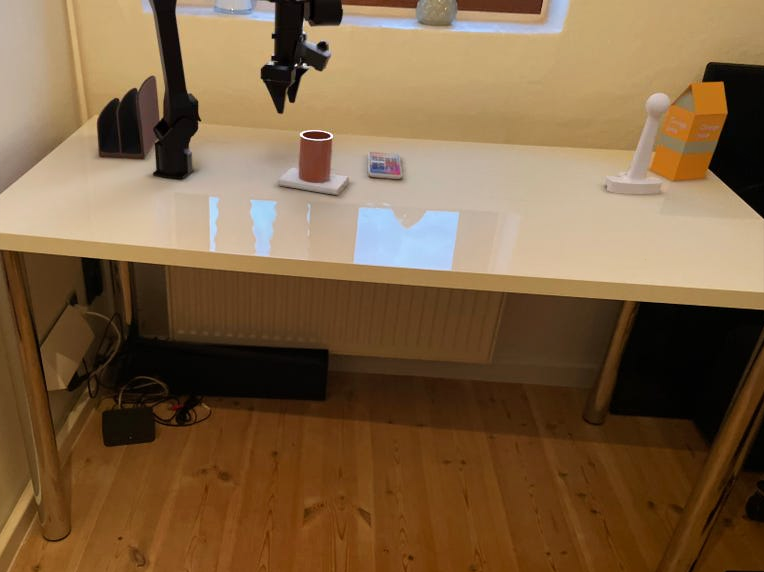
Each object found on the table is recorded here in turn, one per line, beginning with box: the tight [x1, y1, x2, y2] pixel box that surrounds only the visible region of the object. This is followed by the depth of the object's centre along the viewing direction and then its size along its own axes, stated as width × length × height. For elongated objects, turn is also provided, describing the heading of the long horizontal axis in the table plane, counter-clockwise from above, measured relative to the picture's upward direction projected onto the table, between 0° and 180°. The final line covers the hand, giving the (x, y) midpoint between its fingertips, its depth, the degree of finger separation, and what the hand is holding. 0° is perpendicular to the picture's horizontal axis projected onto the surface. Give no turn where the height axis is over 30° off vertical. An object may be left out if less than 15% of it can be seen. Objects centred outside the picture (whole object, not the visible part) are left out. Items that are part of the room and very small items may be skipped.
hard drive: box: [278, 167, 350, 196], centre depth 150 cm, size 2×8×12 cm
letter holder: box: [96, 75, 161, 160], centre depth 163 cm, size 10×20×14 cm, turn 179°
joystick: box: [603, 92, 671, 195], centre depth 152 cm, size 11×8×20 cm
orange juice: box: [649, 81, 729, 182], centre depth 161 cm, size 8×9×20 cm
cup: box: [297, 129, 334, 183], centre depth 147 cm, size 6×6×8 cm
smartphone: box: [367, 151, 403, 180], centre depth 161 cm, size 7×1×15 cm
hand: (286, 108), depth 153 cm, fingers open, 9 cm apart
